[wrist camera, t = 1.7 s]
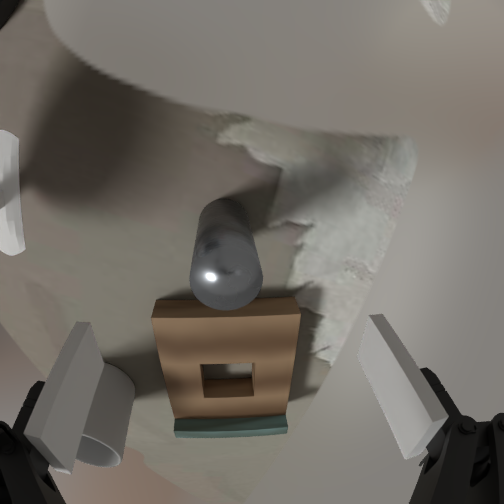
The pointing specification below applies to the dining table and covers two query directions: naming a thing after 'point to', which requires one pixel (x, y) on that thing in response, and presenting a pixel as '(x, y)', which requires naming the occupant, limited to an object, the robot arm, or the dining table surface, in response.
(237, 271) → the grey metal cylinder
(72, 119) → the dining table surface
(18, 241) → the heart sculpture
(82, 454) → the mug
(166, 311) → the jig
